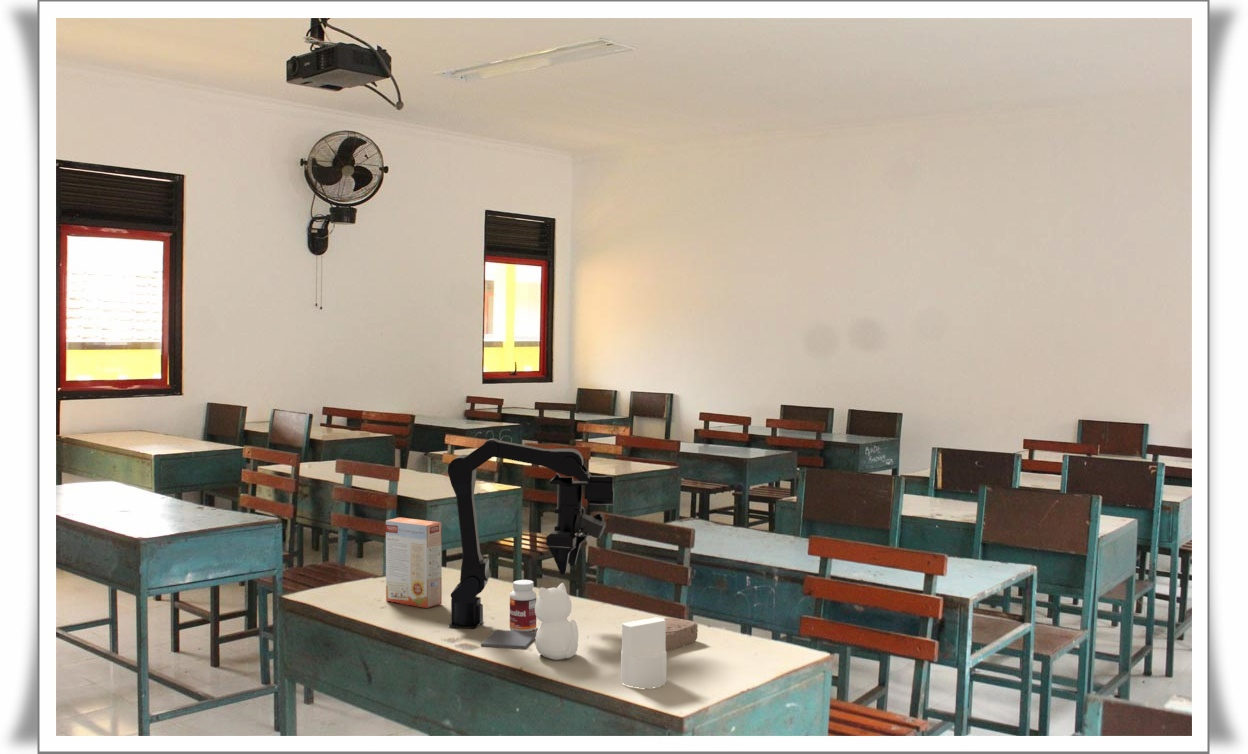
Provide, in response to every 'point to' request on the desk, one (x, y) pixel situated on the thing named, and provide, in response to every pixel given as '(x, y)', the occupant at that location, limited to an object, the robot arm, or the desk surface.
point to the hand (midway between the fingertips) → (567, 570)
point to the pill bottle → (523, 606)
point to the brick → (679, 632)
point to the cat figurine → (555, 624)
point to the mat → (509, 639)
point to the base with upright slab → (644, 653)
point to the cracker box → (413, 562)
